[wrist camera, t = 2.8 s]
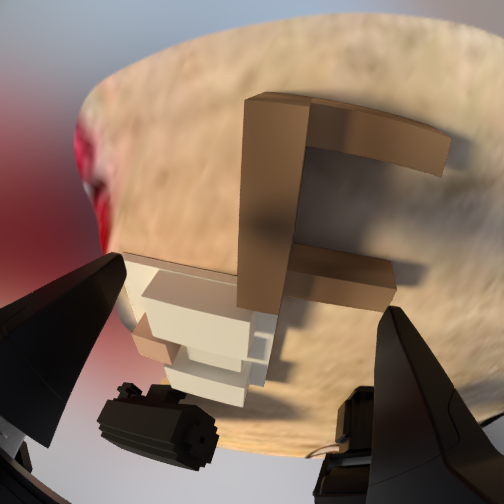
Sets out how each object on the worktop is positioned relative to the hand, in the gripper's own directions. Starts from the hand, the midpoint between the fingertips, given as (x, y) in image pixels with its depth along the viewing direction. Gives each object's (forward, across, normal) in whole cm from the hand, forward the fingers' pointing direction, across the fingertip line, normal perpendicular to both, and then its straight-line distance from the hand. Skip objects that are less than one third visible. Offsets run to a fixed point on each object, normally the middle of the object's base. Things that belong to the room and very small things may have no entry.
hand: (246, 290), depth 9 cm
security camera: (+8, +12, +29) cm, 33 cm away
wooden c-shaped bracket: (+8, -3, 0) cm, 8 cm away
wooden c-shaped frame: (+8, +5, +13) cm, 16 cm away
